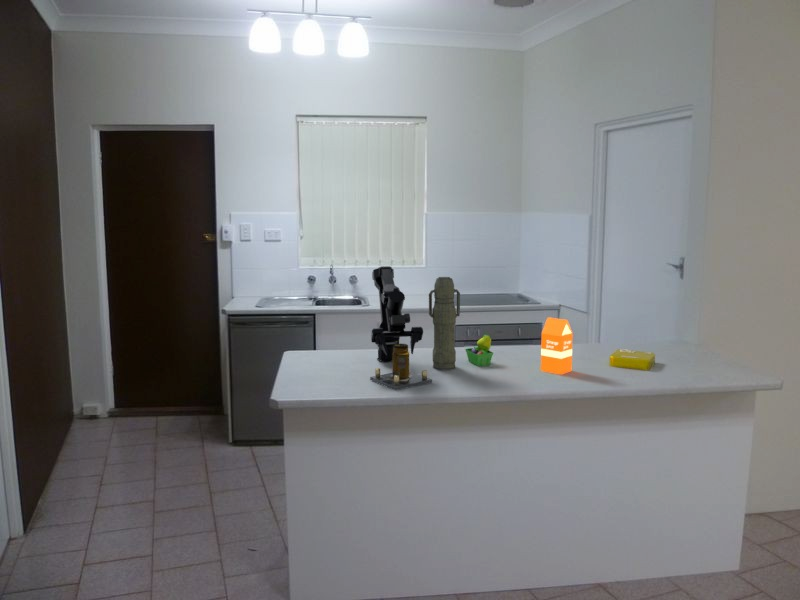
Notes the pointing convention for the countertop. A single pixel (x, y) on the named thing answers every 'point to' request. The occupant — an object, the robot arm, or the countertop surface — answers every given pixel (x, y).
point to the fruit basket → (480, 352)
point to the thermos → (444, 322)
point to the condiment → (400, 362)
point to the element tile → (632, 359)
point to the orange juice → (556, 346)
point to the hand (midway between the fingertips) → (399, 354)
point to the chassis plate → (397, 384)
